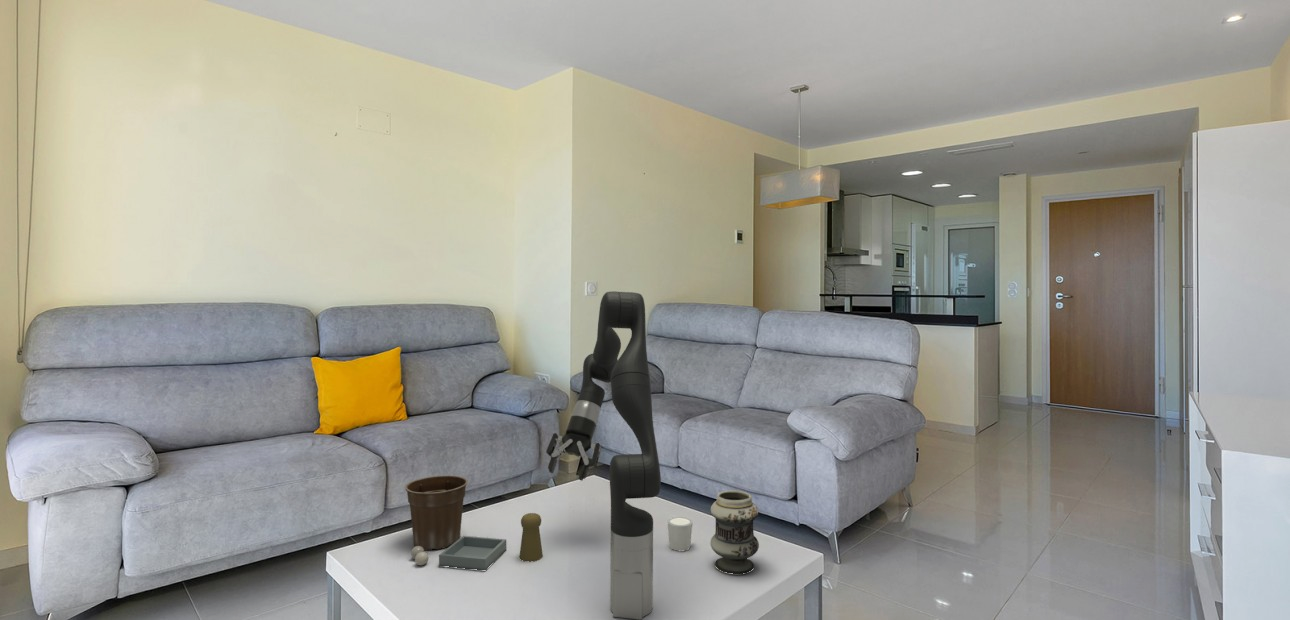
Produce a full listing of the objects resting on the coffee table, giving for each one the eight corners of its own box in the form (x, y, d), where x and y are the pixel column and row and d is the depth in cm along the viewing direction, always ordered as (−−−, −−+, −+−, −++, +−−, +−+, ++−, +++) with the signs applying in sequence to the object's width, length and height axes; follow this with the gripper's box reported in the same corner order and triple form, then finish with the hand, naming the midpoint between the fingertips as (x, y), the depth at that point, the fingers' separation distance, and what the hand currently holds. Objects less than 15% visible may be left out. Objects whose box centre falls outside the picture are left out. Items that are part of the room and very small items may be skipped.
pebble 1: (419, 561, 151) (419, 549, 151) (408, 560, 152) (408, 548, 152) (426, 556, 154) (426, 544, 154) (415, 555, 155) (415, 543, 155)
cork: (514, 558, 153) (514, 516, 153) (529, 550, 159) (529, 509, 159) (532, 563, 151) (533, 520, 150) (547, 554, 156) (547, 512, 156)
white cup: (690, 553, 157) (691, 526, 157) (665, 550, 159) (665, 524, 159) (693, 542, 164) (694, 517, 164) (669, 540, 165) (669, 515, 165)
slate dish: (485, 571, 146) (485, 559, 146) (438, 566, 148) (438, 554, 148) (506, 550, 158) (506, 539, 158) (463, 546, 161) (463, 535, 161)
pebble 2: (424, 568, 148) (424, 555, 148) (412, 567, 148) (412, 554, 148) (431, 562, 151) (431, 550, 151) (419, 561, 151) (419, 549, 151)
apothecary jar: (729, 552, 158) (730, 484, 158) (768, 566, 150) (768, 495, 149) (700, 565, 150) (700, 494, 150) (739, 582, 141) (739, 506, 141)
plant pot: (405, 534, 169) (405, 478, 169) (465, 527, 175) (465, 472, 174) (404, 557, 154) (404, 495, 153) (469, 549, 159) (469, 489, 159)
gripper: (557, 409, 166) (537, 466, 158) (606, 420, 163) (588, 478, 155) (563, 419, 173) (544, 473, 165) (609, 430, 170) (593, 486, 162)
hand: (565, 476), depth 160 cm, fingers open, 8 cm apart
